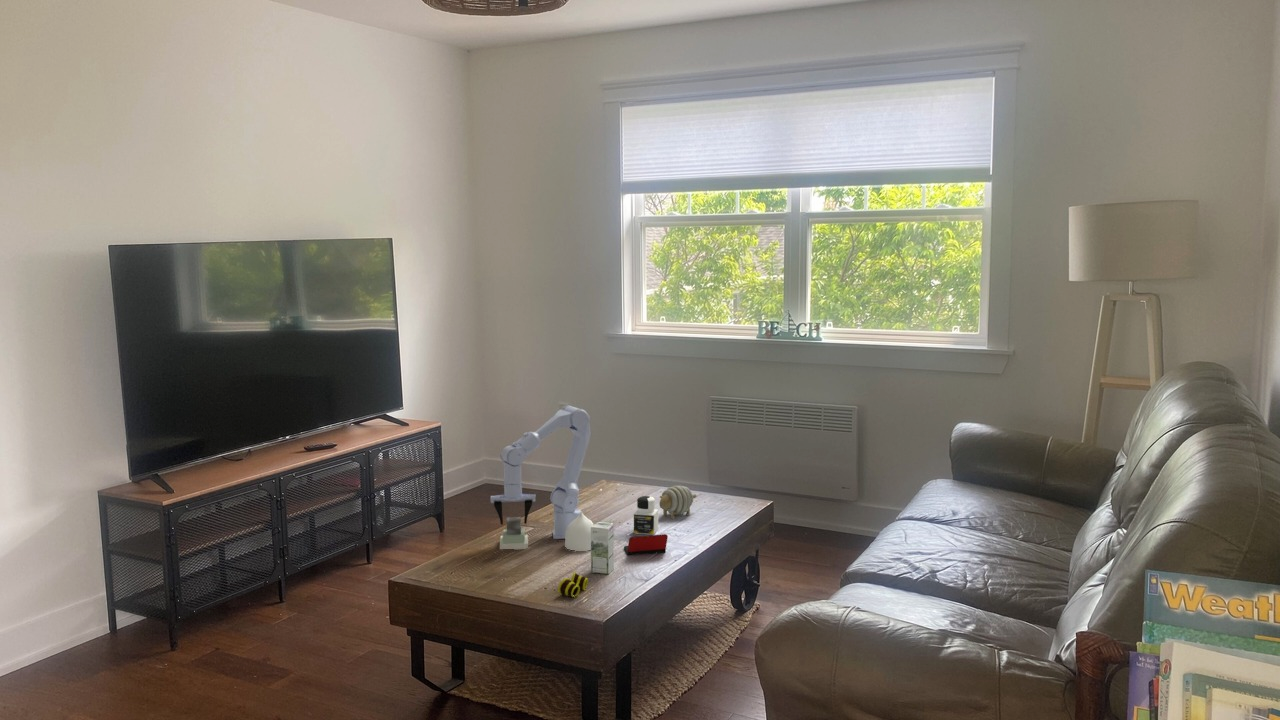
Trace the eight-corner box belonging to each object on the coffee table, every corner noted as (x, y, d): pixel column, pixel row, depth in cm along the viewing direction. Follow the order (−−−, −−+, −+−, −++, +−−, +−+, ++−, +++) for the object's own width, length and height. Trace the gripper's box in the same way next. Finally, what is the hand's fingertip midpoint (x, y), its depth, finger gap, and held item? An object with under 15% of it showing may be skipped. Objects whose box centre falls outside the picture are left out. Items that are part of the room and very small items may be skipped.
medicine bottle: (633, 533, 306) (633, 499, 304) (638, 527, 313) (638, 494, 311) (653, 535, 304) (653, 500, 303) (658, 528, 311) (658, 495, 310)
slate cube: (521, 530, 296) (520, 516, 295) (520, 534, 292) (520, 521, 291) (507, 530, 295) (506, 517, 295) (506, 535, 291) (506, 521, 290)
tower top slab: (525, 536, 298) (524, 529, 297) (524, 543, 291) (524, 535, 290) (503, 537, 297) (503, 529, 296) (502, 543, 290) (502, 536, 290)
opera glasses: (572, 602, 248) (575, 586, 247) (556, 596, 250) (559, 579, 249) (588, 590, 257) (591, 574, 256) (572, 584, 259) (574, 568, 258)
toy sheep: (651, 516, 325) (651, 487, 324) (683, 507, 337) (683, 479, 335) (671, 523, 318) (671, 492, 316) (704, 513, 329) (704, 484, 328)
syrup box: (614, 568, 272) (614, 522, 270) (608, 575, 266) (608, 527, 264) (596, 566, 273) (596, 520, 272) (590, 573, 268) (590, 526, 266)
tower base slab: (527, 542, 299) (527, 534, 299) (527, 550, 290) (527, 543, 290) (500, 543, 298) (500, 535, 298) (499, 552, 289) (499, 544, 289)
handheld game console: (660, 546, 293) (660, 524, 292) (668, 557, 283) (668, 534, 282) (623, 549, 291) (623, 526, 290) (629, 560, 280) (629, 537, 279)
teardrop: (577, 539, 300) (576, 504, 299) (604, 544, 295) (604, 509, 293) (558, 548, 291) (557, 512, 290) (586, 554, 285) (585, 517, 284)
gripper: (489, 486, 287) (490, 527, 288) (535, 485, 289) (535, 525, 290) (490, 481, 294) (491, 521, 295) (535, 479, 296) (535, 519, 297)
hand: (513, 523), depth 293 cm, fingers open, 7 cm apart
